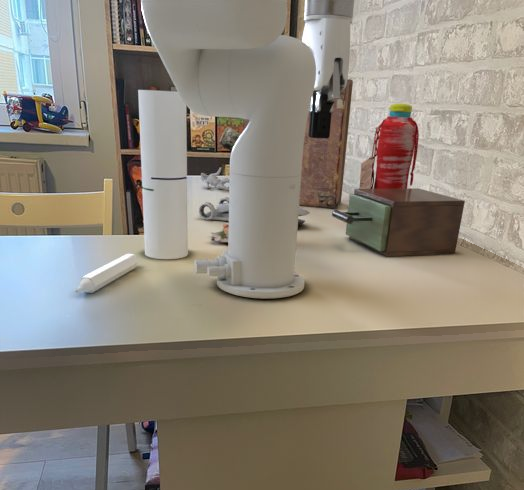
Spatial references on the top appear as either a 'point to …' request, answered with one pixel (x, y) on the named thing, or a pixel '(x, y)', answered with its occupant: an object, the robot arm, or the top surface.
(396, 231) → the cabinet
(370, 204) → the drawer
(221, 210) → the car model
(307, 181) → the book
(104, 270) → the marker
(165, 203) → the cylindrical container
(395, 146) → the water bottle
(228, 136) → the plant with pod
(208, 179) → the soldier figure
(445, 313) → the top surface
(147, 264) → the top surface
